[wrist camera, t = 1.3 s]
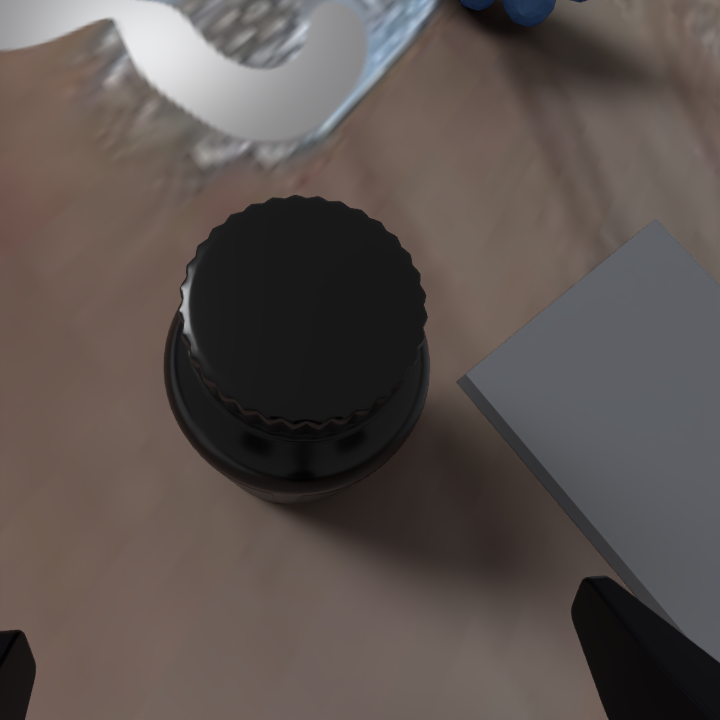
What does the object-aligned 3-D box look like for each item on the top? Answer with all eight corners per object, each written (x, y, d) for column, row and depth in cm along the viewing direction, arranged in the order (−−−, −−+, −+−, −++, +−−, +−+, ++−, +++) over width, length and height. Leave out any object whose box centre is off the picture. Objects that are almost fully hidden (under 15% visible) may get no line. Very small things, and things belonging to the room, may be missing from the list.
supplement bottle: (332, 313, 23) (388, 111, 12) (405, 457, 22) (550, 387, 10) (178, 377, 21) (65, 211, 10) (247, 538, 20) (211, 563, 8)
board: (912, 520, 24) (943, 520, 23) (758, 742, 20) (786, 755, 19) (639, 231, 27) (656, 218, 26) (456, 381, 23) (465, 374, 22)
